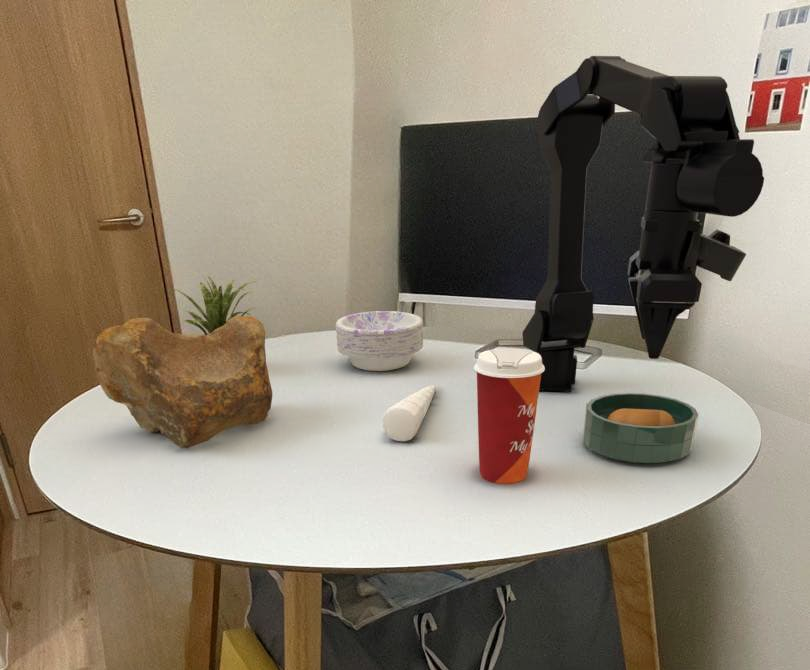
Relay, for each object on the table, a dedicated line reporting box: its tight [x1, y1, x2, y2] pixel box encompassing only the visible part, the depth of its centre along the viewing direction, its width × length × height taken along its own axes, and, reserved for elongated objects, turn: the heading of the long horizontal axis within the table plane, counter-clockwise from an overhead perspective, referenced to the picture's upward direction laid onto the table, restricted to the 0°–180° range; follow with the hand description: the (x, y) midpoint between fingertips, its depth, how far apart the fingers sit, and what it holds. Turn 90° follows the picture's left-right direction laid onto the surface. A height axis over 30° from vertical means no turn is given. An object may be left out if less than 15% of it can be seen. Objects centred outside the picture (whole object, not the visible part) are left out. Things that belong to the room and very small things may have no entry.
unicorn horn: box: [382, 384, 437, 443], centre depth 101 cm, size 5×24×5 cm, turn 163°
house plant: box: [173, 275, 258, 335], centre depth 119 cm, size 14×14×16 cm
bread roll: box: [607, 408, 675, 426], centre depth 88 cm, size 8×4×4 cm, turn 79°
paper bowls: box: [335, 310, 424, 372], centre depth 124 cm, size 15×15×8 cm
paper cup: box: [473, 347, 545, 485], centre depth 80 cm, size 8×8×14 cm
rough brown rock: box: [92, 315, 274, 449], centre depth 94 cm, size 23×17×15 cm
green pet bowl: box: [582, 392, 699, 464], centre depth 88 cm, size 13×13×5 cm
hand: (649, 348), depth 87 cm, fingers open, 9 cm apart
